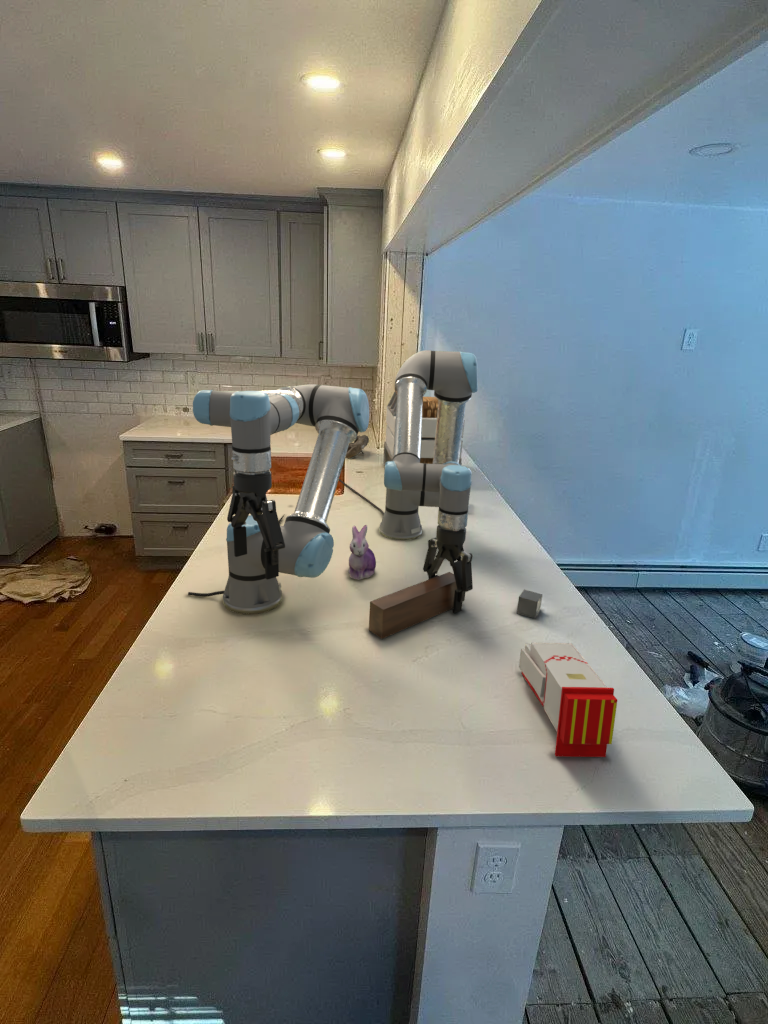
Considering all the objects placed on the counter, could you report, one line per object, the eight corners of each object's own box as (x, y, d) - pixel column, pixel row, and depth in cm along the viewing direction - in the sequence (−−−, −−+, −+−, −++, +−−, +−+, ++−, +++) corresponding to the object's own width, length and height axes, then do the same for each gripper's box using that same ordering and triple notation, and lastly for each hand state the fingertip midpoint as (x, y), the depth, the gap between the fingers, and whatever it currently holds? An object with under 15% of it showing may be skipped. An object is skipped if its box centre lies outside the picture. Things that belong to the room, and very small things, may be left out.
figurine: (354, 583, 162) (355, 534, 157) (340, 569, 171) (341, 522, 166) (383, 577, 167) (385, 530, 161) (368, 563, 175) (369, 518, 170)
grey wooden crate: (382, 463, 289) (386, 382, 275) (445, 464, 293) (451, 384, 279) (390, 482, 257) (394, 392, 243) (460, 483, 261) (468, 394, 247)
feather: (291, 508, 223) (294, 504, 222) (274, 533, 196) (277, 528, 195) (287, 506, 222) (290, 502, 222) (270, 530, 196) (272, 526, 195)
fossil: (345, 441, 314) (366, 425, 309) (355, 454, 317) (377, 439, 312) (338, 454, 294) (361, 438, 289) (350, 469, 297) (372, 453, 292)
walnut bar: (368, 630, 140) (369, 601, 137) (447, 597, 157) (449, 571, 154) (381, 639, 136) (383, 609, 133) (460, 605, 153) (463, 578, 151)
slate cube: (516, 613, 151) (518, 596, 149) (521, 605, 155) (524, 589, 153) (535, 618, 148) (537, 601, 147) (540, 610, 152) (542, 594, 151)
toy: (567, 625, 127) (627, 695, 97) (561, 680, 130) (618, 764, 100) (513, 624, 126) (557, 694, 97) (508, 679, 129) (550, 763, 100)
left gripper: (207, 458, 121) (213, 550, 128) (267, 488, 103) (270, 593, 110) (240, 454, 125) (244, 542, 132) (302, 482, 108) (302, 582, 115)
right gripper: (412, 516, 150) (407, 593, 158) (473, 542, 135) (464, 625, 143) (432, 511, 155) (426, 585, 163) (493, 536, 140) (484, 616, 148)
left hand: (255, 565), depth 121 cm, fingers open, 13 cm apart
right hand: (444, 604), depth 153 cm, fingers open, 8 cm apart
